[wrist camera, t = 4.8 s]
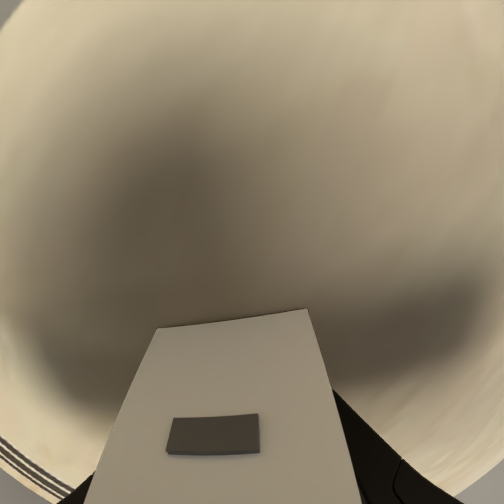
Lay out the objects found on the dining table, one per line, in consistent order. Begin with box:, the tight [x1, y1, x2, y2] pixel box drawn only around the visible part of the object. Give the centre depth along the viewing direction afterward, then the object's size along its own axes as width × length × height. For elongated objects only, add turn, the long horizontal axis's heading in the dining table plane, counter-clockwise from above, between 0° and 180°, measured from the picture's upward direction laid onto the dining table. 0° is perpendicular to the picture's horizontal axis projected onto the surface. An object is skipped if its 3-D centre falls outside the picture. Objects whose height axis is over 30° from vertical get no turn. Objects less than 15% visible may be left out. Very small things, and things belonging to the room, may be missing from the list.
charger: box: [84, 308, 362, 504], centre depth 7 cm, size 4×9×6 cm, turn 10°
